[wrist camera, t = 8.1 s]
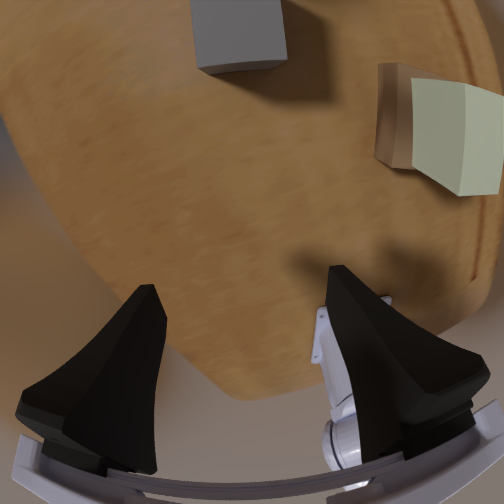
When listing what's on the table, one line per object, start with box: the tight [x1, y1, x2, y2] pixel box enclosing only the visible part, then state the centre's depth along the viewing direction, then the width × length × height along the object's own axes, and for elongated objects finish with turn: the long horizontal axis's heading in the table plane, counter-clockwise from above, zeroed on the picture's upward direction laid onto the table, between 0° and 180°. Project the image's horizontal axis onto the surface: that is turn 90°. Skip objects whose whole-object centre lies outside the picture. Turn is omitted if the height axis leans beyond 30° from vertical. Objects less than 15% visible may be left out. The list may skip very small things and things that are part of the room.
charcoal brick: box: [190, 0, 287, 75], centre depth 10 cm, size 6×4×5 cm, turn 5°
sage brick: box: [411, 78, 504, 196], centre depth 11 cm, size 6×4×5 cm, turn 8°
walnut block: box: [374, 63, 454, 170], centre depth 14 cm, size 7×7×3 cm
